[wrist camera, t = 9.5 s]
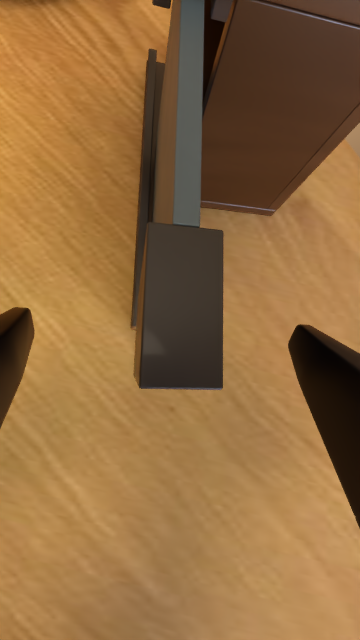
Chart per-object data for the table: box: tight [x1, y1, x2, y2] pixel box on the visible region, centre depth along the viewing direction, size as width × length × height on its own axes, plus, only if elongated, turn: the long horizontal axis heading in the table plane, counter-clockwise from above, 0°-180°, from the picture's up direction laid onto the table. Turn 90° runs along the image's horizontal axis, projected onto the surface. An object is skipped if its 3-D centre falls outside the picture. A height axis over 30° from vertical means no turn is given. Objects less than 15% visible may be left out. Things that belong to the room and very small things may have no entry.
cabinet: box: [131, 0, 360, 330], centre depth 15 cm, size 20×10×13 cm, turn 178°
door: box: [134, 0, 223, 390], centre depth 14 cm, size 16×2×10 cm, turn 178°
